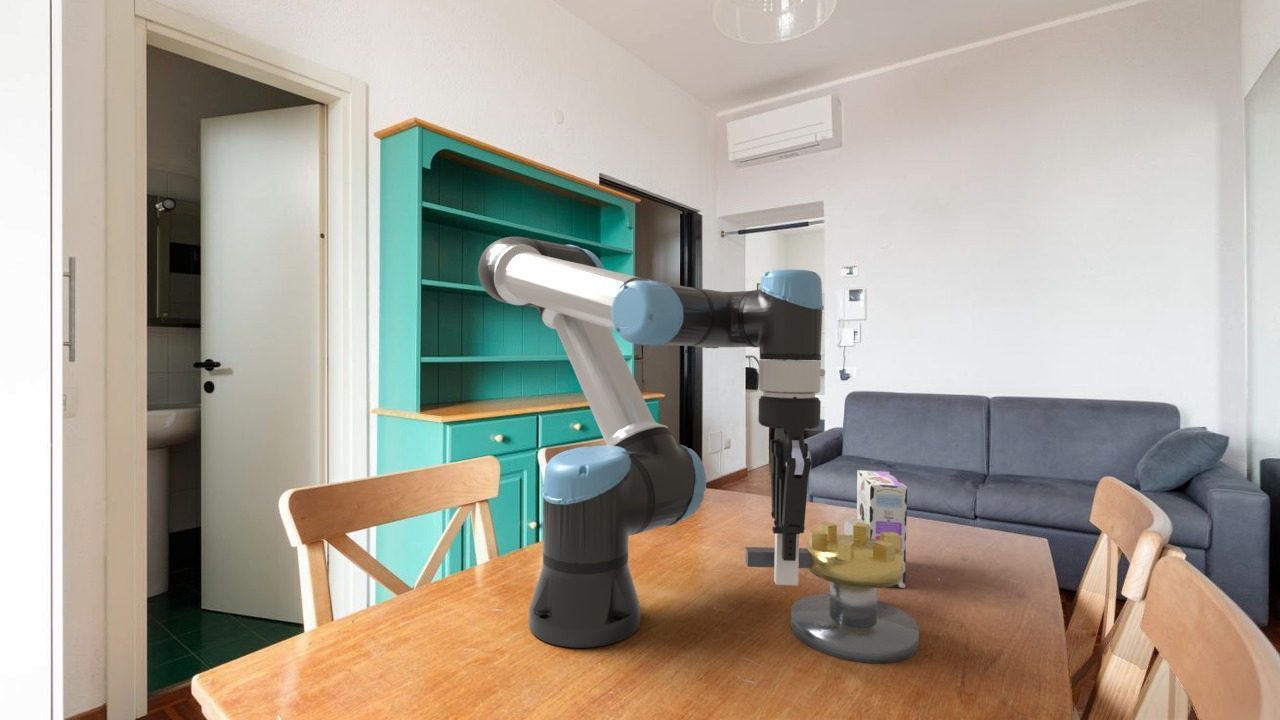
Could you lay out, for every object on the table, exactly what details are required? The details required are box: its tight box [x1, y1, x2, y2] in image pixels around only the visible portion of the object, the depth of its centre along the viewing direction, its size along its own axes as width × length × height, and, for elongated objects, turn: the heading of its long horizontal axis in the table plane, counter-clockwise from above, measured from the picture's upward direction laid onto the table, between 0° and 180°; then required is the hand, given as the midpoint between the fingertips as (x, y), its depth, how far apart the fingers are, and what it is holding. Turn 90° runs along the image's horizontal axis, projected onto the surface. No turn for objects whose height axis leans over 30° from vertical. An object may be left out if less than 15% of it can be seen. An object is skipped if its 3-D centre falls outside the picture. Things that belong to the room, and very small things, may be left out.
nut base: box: [790, 518, 920, 664], centre depth 81 cm, size 16×20×12 cm
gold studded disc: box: [744, 521, 903, 589], centre depth 80 cm, size 20×12×5 cm, turn 88°
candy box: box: [856, 470, 908, 589], centre depth 102 cm, size 14×6×16 cm, turn 168°
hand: (786, 582), depth 75 cm, fingers closed
